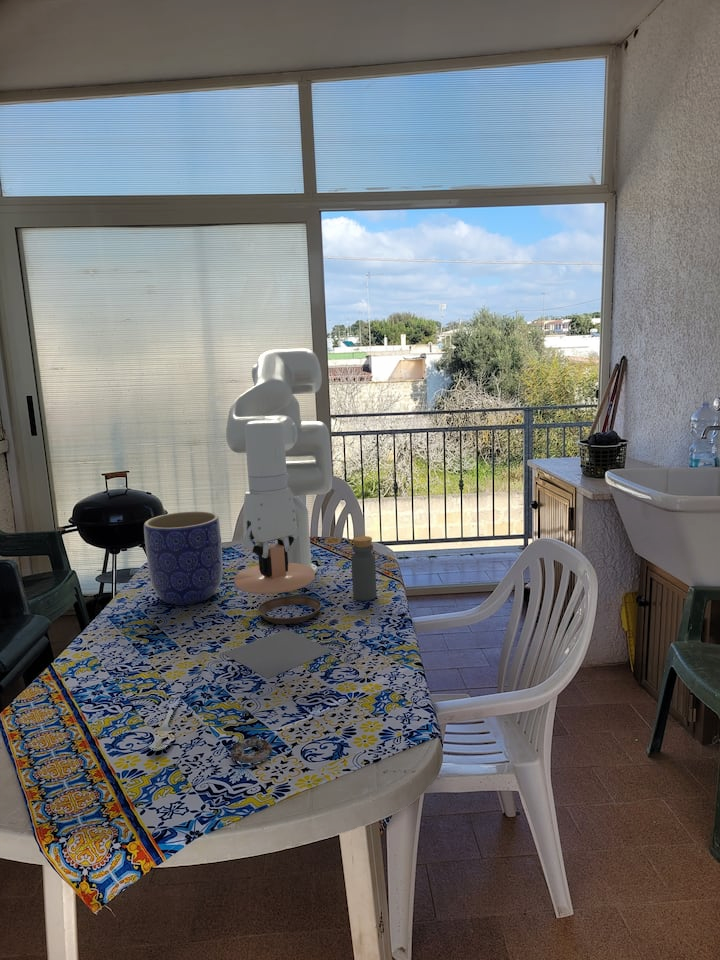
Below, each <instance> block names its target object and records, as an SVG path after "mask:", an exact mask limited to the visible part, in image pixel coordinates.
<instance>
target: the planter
mask: <svg viewBox="0 0 720 960" xmlns="http://www.w3.org/2000/svg"><path fill="white" fill-rule="evenodd" d="M143 534H144V535H143V536H144V544H145V552H146V560H147V568H148V573H149V579H150V584H151V586H152V589H153V591H154V592H155V594H156V595H157V597H159V599H160V600H162V601H163V602H165V603H166V604H170V605H173V604H175V606H187V605H188V604H189V605H194V603H195V604H199V603H202V602H205V601H207V600H208V599H210V598H212V597H213V596H214V595H215V594H216V592H217V591H218V590H219V587H220V585H221V582H222V579H223V551H222V550H223V548H222V536H221V535H222V534H221V524H220V517H219V515H218V514H216V513H214V512H212V511H211V512H210V511H201V510H198V511H197V510H196V511H195V510H194V511H193V510H192V511H179V512H172V513H168V514H167V513H166V514H162V515H158V516H155V517H151V518H150V519H148V520H146V521H145V522H144V524H143Z"/></svg>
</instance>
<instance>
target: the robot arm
mask: <svg viewBox="0 0 720 960" xmlns="http://www.w3.org/2000/svg"><path fill="white" fill-rule="evenodd" d="M322 376H323V375H322V369H321V364H320V361H319V358H318V356H317V355H316V353H315V352H314V351H313V350H311V349H310V348H287V349H286V348H285V349H284V348H283V349H270V350H267V351H265V352H263V353H262V354H260V356H259V357H258V360H257V361H256V364H254V365H253V367H252V369H251V377H252V382H253V386H252V387H251V388H249V389H248V390H246V391H245V392H243V393H242V394H240V395H239V396H238V397H237V398H236V399H235V400H234V401H233V402H232V403H231V406H230V408H229V411H228V416H227V417H228V418H227V421H226V430H225V433H226V434H225V438H226V443H227V446H228V448H229V449H230V450H231V451H232V452H233V453H235V454H236V453H237V454H246V466H247V477H248V478H247V479H248V480H247V481H248V491H246V492H244V493H245V494H244V501H243V510H242V511H243V513H242V518H243V519H242V525H243V527H242V529H243V537H244V538H243V541H242V544H241V547H242V548H244V549H247V550H250V551H252V552H253V553H254V554H255V555H256V556H257V557H258V565H259V570H260V572H261V574H262V575H265V576H267V577H271V576H272V570H271V558H270V557H268V545H269V543H270V542H273V541H275V543H276V544H279V545H282V546H284V556H285V570H286V572H287V571H288V563H298V564H303V565H306V566H309V567H311V568H312V569H313V570H314V573H315V574H317V572H318V566H317V565H316V564H314V563H313V562H312V555H311V554H312V552H311V550H312V549H311V537H310V533H311V532H310V519H309V518H310V517H309V510H308V507H307V506H306V504H305V503H304V502H303V501H302V500H301V499H300V498H299V497H300V496H314V495H325V494H328V493H329V492H330V491H331V490H332V487H333V467H332V465H333V464H332V451H331V450H332V449H331V438H330V432H329V428H328V426H327V425H326V424H325V423H324V422H323V421H318V420H308V421H307V420H306V421H302V419H301V411H300V410H301V408H300V402H299V401H298V398H297V397H295V395H303V394H304V395H306V394H315V393H317V392H319V391H320V389H321V387H322V380H323V377H322ZM306 457H312V458H313V459H309V460H286V459H287V458H306ZM253 541H254V542H255V544H254V543H253Z"/></svg>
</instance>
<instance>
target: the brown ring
mask: <svg viewBox="0 0 720 960" xmlns="http://www.w3.org/2000/svg"><path fill="white" fill-rule="evenodd" d="M290 605H302V606H307V607H310V608H312V609H314V611H313V612H311V613H308V614H304V615H300V616H294V617H273V616H268V615H266V614H267V613H268V612H270V611H271V610H273V609H274V608H278V607H282V606H290ZM322 607H323V606H322V602H321V601H320V600H319V599H316V598H315V597H312V596H307V595H287V596H286V595H285V596H279V597H274V598H271V599H268V600H266V601H264V602H262V603H260V604H259V605H258V607H257V613H258V614H259V615H260V617H262V618H263V619H264V620H266V621H267V622H269V623H273V624H279V625H290V624H298V623H302V622H306V621H309V620H310V619H312V618H314V617H315V616H316V615H317V614H318V613H319V611H320V610H321V608H322Z"/></svg>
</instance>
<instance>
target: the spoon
mask: <svg viewBox="0 0 720 960" xmlns="http://www.w3.org/2000/svg"><path fill="white" fill-rule="evenodd" d="M173 714H174V713H173V712H172V711H171V712H168V713H167V712H166V716H165V719H164V721H163V723H162V724H161V725H160V727H158V729H157V730H156V731H173V730H172V728H170V726H169V721H170V720H171V718H172V716H173ZM171 715H172V716H171ZM170 717H171V718H170ZM166 747H167V746H166ZM166 747H162V748H159V749H152V748H150V749H151V750H150V751H152V750H153V752H158V751H161V750H164V749H166ZM167 748H168V747H167Z"/></svg>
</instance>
